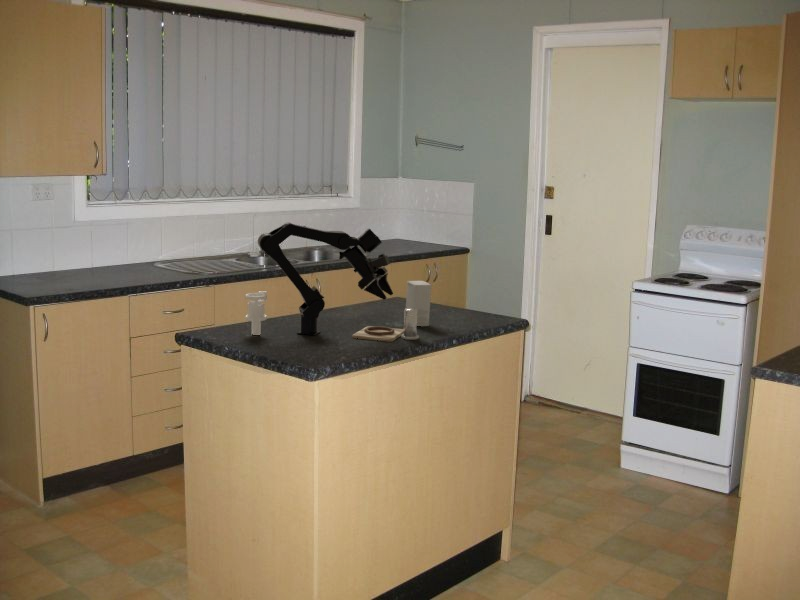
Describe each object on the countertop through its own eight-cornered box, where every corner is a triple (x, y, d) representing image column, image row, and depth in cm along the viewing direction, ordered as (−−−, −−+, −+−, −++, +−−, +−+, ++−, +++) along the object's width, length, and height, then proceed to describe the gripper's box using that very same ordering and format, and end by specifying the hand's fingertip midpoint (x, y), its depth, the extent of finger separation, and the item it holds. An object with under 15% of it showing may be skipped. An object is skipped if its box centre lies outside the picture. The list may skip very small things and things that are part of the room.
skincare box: (404, 322, 330) (405, 280, 327) (420, 321, 332) (422, 280, 330) (413, 327, 322) (415, 284, 319) (430, 326, 325) (432, 283, 322)
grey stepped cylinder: (266, 337, 300) (266, 293, 297) (245, 337, 299) (245, 293, 296) (266, 332, 307) (266, 289, 304) (245, 332, 306) (245, 289, 303)
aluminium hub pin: (415, 340, 301) (416, 311, 300) (398, 339, 303) (399, 310, 301) (420, 337, 307) (421, 308, 305) (404, 335, 309) (404, 307, 307)
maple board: (391, 341, 299) (391, 336, 298) (352, 337, 303) (352, 332, 303) (405, 332, 314) (405, 326, 313) (367, 328, 318) (368, 323, 318)
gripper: (368, 249, 296) (399, 285, 295) (383, 243, 314) (412, 277, 313) (345, 271, 299) (375, 306, 298) (360, 264, 317) (389, 298, 316)
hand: (388, 296), depth 307 cm, fingers open, 9 cm apart
